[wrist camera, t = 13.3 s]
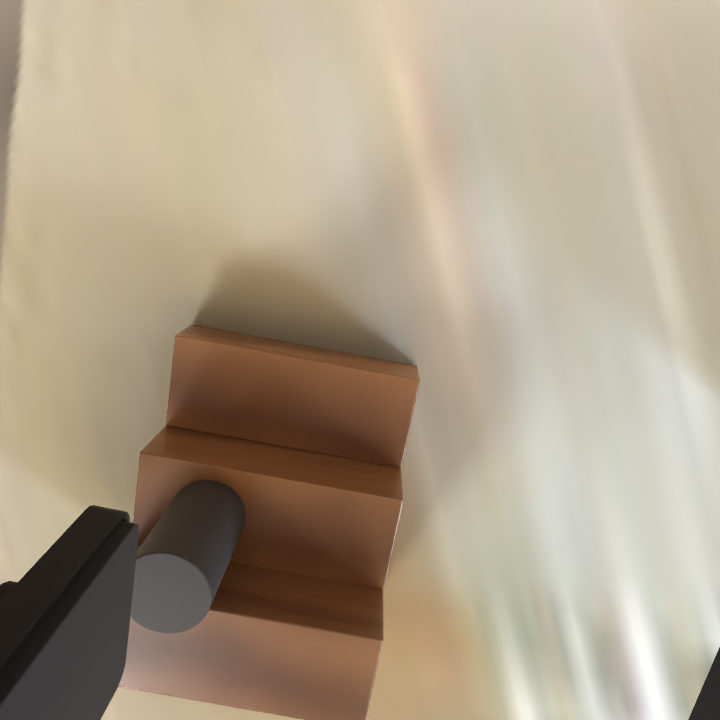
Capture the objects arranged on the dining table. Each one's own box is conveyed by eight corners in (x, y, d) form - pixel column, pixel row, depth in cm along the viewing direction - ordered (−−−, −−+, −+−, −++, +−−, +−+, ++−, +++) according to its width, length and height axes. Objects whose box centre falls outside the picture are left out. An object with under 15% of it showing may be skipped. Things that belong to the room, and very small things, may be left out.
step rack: (191, 324, 38) (116, 373, 27) (417, 366, 38) (430, 431, 28) (164, 560, 42) (90, 682, 32) (368, 597, 42) (363, 731, 32)
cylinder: (176, 473, 33) (121, 544, 26) (250, 487, 33) (216, 561, 26) (168, 540, 34) (114, 625, 27) (240, 553, 34) (205, 641, 27)
